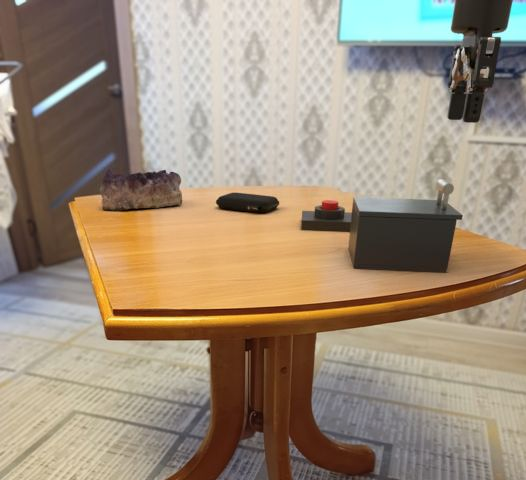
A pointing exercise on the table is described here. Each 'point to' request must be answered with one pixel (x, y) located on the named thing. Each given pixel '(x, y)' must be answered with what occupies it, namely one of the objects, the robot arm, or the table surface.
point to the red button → (330, 205)
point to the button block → (326, 220)
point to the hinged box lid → (410, 206)
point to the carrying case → (247, 202)
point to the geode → (140, 190)
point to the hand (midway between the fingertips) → (461, 121)
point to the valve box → (400, 243)
